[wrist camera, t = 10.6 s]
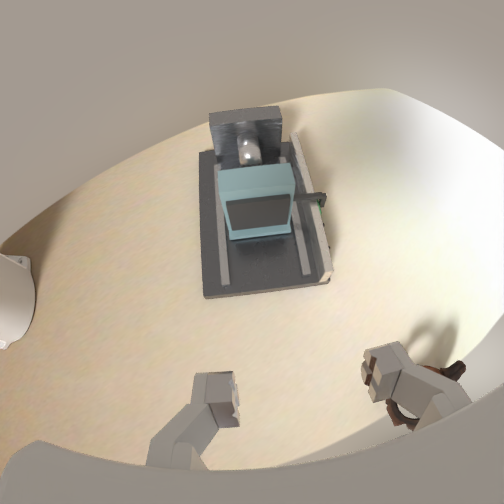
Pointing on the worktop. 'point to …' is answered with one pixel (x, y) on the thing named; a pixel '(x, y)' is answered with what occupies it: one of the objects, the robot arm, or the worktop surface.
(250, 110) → the frame
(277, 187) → the gauge slider
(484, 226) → the worktop surface
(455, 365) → the brown hollow ring part
